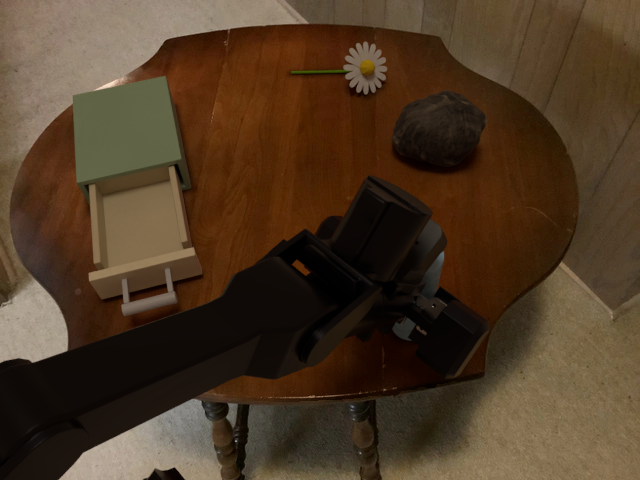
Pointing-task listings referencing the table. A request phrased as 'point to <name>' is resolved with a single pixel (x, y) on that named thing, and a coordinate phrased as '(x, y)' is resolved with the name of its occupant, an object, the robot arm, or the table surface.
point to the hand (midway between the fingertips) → (422, 285)
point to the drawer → (140, 237)
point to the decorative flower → (360, 68)
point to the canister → (428, 292)
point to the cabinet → (126, 132)
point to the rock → (439, 129)
